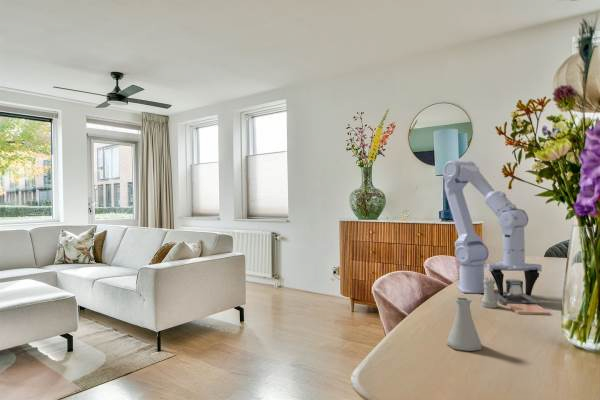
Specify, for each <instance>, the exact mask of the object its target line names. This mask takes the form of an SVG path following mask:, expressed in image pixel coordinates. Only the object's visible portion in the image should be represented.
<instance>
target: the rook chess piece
mask: <svg viewBox="0 0 600 400" xmlns="http://www.w3.org/2000/svg"><path fill="white" fill-rule="evenodd" d="M483 282H484V289H485V291H484V293H483V296H482V299H481V300H480V301H481V303H480V304H481V307H484V308H488V309H496V308H498V306H499V304H498V301H497V300H496V298H495V295H494V294H495V288H496V287H495V286H494V285H495V284H496V282H495V280H494V278H492V277H484V281H483Z"/></svg>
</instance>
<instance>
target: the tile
mask: <svg viewBox="0 0 600 400" xmlns="http://www.w3.org/2000/svg"><path fill="white" fill-rule="evenodd" d="M506 306H507V307H508V308H509V309H510V310H512V311H513V312H514V313H515V314H517V315H541V316H551V312H550V311H548V310H547V309H545V308H544V307H542V306H541V305H540V306H539V305H537V304H507V305H506Z"/></svg>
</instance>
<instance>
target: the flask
mask: <svg viewBox="0 0 600 400" xmlns="http://www.w3.org/2000/svg"><path fill="white" fill-rule="evenodd" d="M455 302H456V313H455V318H454V320H453V324H452V326H451V328H450V332H449V334H448V337H447V341H446V345H447V346H449V347H451V348H452V349H454V350H460V351H468V352H473V351H481V350H483V344H482V341H481V339H480V337H479V333H478V332H477V328H476V326H475V323H474V320H473V317H472V312H471V303H472V299H471V298H469V297H466V296H465V297H464V296H460V297H459V296H457V297H455Z"/></svg>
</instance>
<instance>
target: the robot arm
mask: <svg viewBox="0 0 600 400" xmlns="http://www.w3.org/2000/svg"><path fill="white" fill-rule="evenodd" d="M475 163H476V162H475ZM475 163H474V161H471V160H467V161H465V160H453V159H452V160H448V161H447V162H446V163H445V164H444V166H443V169H442V171H441V173H442V177H443V179H444V193H445V195H446V199H447V202H448V206H449V209H450V212H451V216H452V220H453V223H454V226H455V229H456V233H457V236H458V238H456V241H454V244H453V245H454V247H455V250H454V255H455V259H456V260H457V262H458V264H459V265H460V266H459V269H458V271H459V275H458V276H459V284H456V287H457V289H459V290H460V292H462V293H467V294H468V293H469V294H484V291H485V288H484V286H485V284H484V282H483V281H484V278H485V264H486V261H487V260H488V258H489V255H490V251H489V249H488V247H487V246H486V244H485V243H484V240H483V238H482V237H481V236H479V234H477V233H476V229H475V228H474V224H473V221H472V217H471V215H470V214H471V213H470V211H469V207H468V204H467V201H466V198H465V195H464V191H463V190H464V188H465V187H466V186H467V185H468V184H469V183H470V184H471V185H472V186H473V187H474V188H475V189H476V190H477V191H479V193H481V195H483V196H484V198H485V200H484V201H485V202H484V203H485V204H486V205H487V207H488V208H489V209H490V210H491V211H492V212H493V214H494V215H495V216H496V218H498V219H497V223H498V225H499V226H500V228H501V233H502V257H503V258H502V261H503V262H497V263H487V264H486V268H487V271H488V272H490V273H491V276H492V277H493V278H494V281H495V284H496V289H497V291H498V292H497V294H500V295H503V294H504V277H505V275H504V273H503V272H504V271H507V272H511V271H512V272H513V271H514V272H516V271H517V272H518V271H519V272H523V273H524V279H525V280H524V281H525V288H524V289H525V294H526V295H528V296H529V297H531V296H532V293H533V288H534V286H535V285H536V284H535V283H536V282H537V280H538V278H539V277H540V272H542V271H543V270H542V269H543V266H542V264H540V263H525V262H526V261H525V259H526V257H525V254H526V251H525V227H526V226H527V225H528V223H529V216H528V214H527V212H526V210H524V209H522V208H518V207H517V206H516V204H514V203H512V202H511V200H510V199H509V198H507V194H506V192H504V191H503V192H502V191H501V190H500V191H499V190H495V189H494V188H493V186H492V185H491V184H490V183H489V181H488V180H487V179H486V177H484V176H483V174H482V173H481V171H480V167H479V166H478V165H476V164H475ZM502 271H503V272H502Z"/></svg>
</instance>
